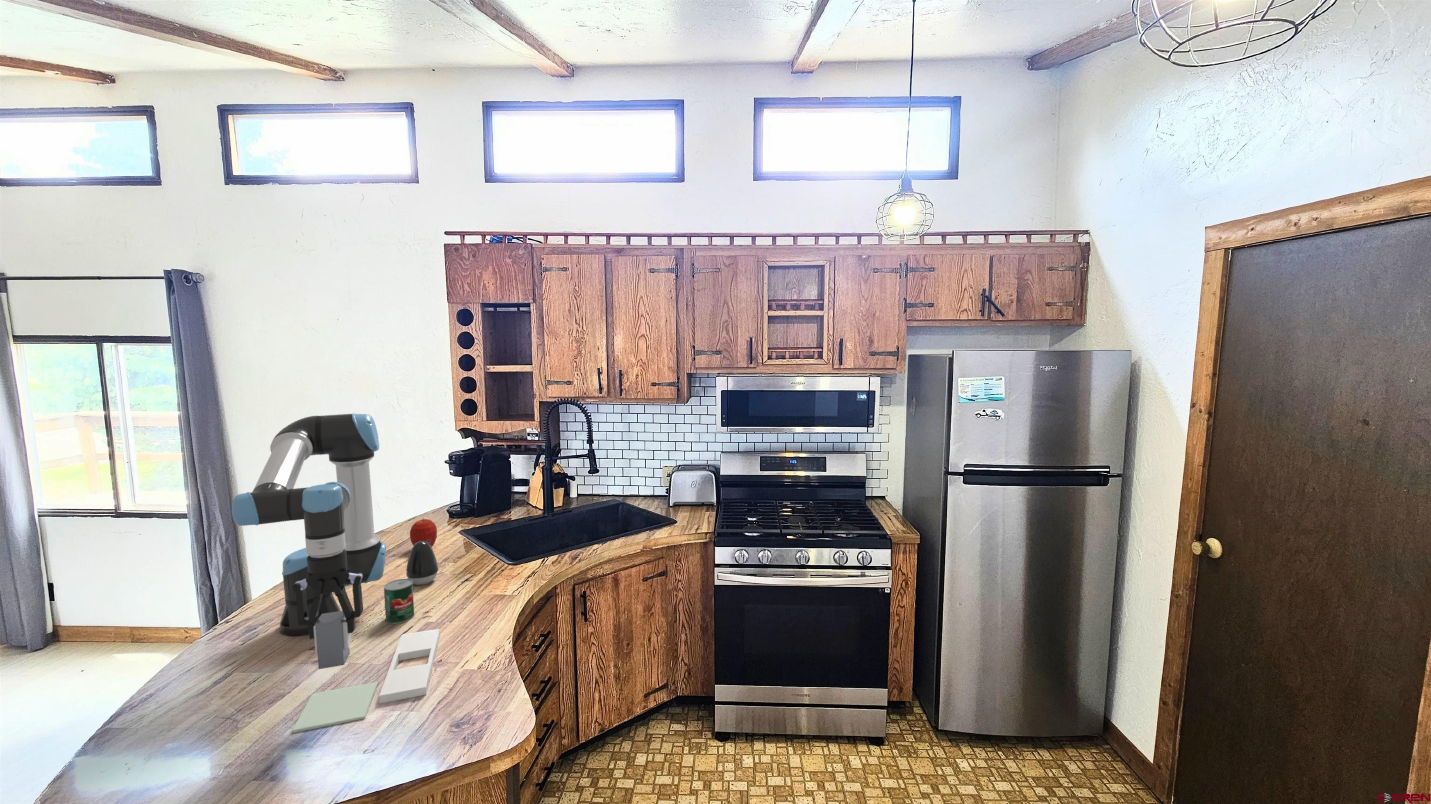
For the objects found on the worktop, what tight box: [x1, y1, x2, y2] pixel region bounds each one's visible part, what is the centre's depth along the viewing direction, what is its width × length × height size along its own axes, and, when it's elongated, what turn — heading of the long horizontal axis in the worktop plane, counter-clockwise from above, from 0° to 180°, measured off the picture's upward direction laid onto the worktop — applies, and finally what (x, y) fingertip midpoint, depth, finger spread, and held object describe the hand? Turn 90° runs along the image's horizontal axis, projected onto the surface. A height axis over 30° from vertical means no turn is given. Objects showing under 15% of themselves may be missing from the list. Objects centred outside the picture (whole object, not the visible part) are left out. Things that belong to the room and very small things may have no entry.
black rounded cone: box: [405, 539, 439, 586], centre depth 201 cm, size 10×10×15 cm
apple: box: [409, 518, 438, 548], centre depth 232 cm, size 10×10×14 cm
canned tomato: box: [383, 578, 415, 625], centre depth 175 cm, size 8×8×11 cm
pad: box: [291, 681, 379, 734], centre depth 132 cm, size 14×14×1 cm
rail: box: [378, 628, 441, 704], centre depth 149 cm, size 10×30×2 cm, turn 20°
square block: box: [315, 610, 351, 670], centre depth 130 cm, size 5×5×11 cm
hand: (333, 648), depth 131 cm, fingers closed on square block, 5 cm apart
